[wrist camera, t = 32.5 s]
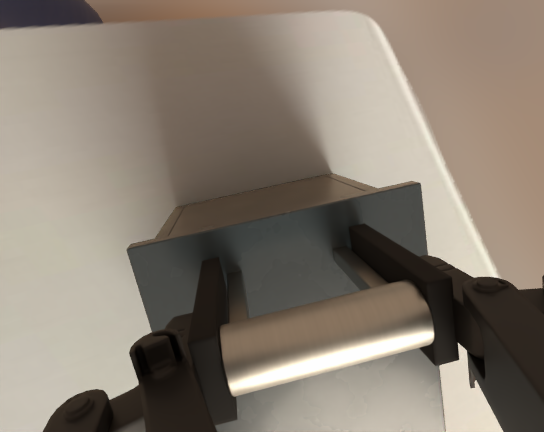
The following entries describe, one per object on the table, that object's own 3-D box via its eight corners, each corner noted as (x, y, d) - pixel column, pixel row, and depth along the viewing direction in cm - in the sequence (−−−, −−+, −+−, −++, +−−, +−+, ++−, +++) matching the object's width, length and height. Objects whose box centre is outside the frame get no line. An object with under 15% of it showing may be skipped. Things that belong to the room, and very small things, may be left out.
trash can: (175, 206, 30) (136, 264, 16) (332, 172, 31) (414, 200, 18) (218, 366, 34) (215, 519, 20) (357, 331, 35) (441, 453, 21)
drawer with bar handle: (130, 243, 16) (48, 335, 9) (412, 180, 17) (557, 213, 10) (215, 520, 20) (209, 749, 13) (441, 454, 21) (561, 629, 14)
